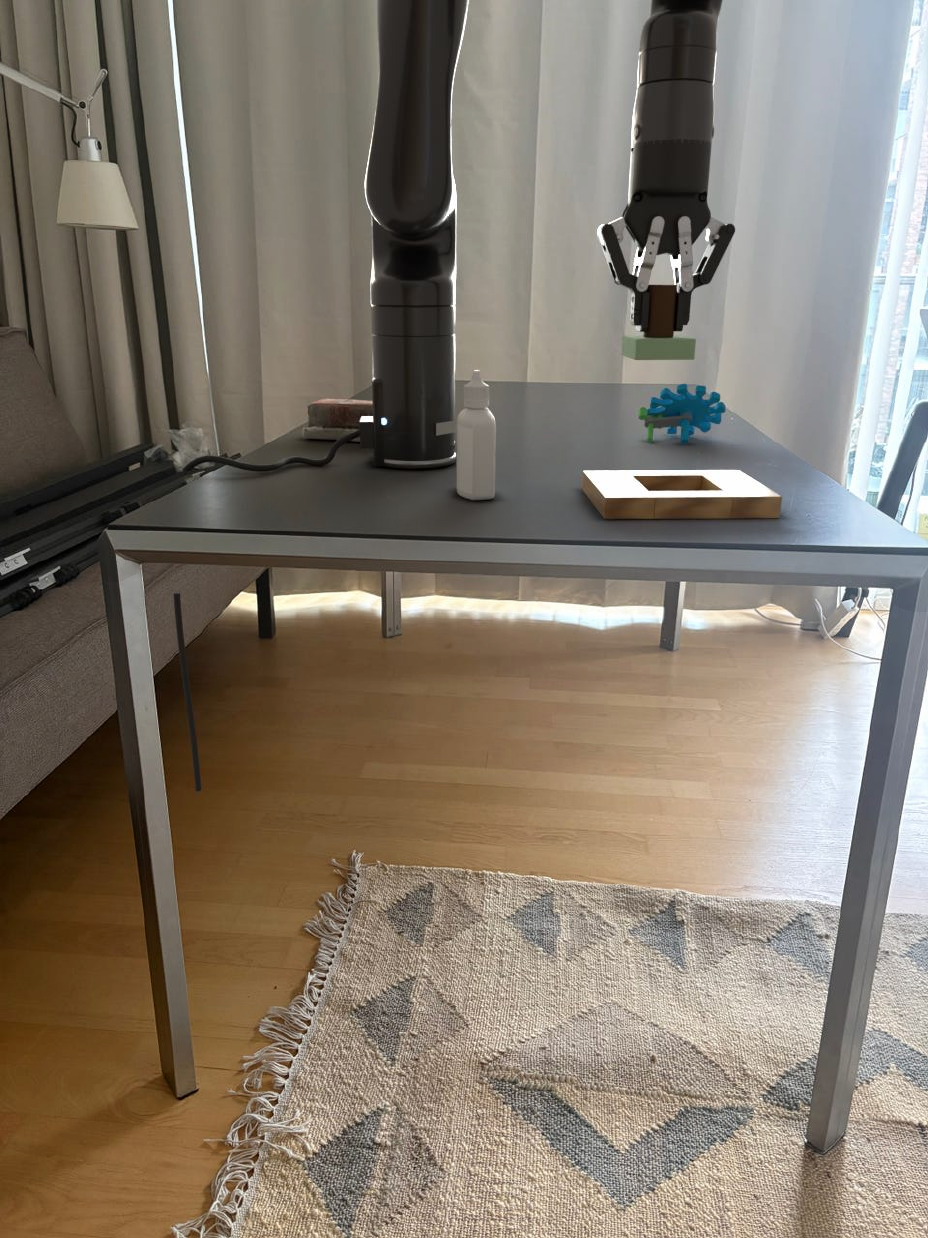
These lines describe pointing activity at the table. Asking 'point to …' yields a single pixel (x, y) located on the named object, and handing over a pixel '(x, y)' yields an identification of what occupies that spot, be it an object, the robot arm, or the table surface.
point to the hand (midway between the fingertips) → (658, 330)
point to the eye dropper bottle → (476, 443)
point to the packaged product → (335, 418)
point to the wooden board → (679, 494)
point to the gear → (682, 412)
